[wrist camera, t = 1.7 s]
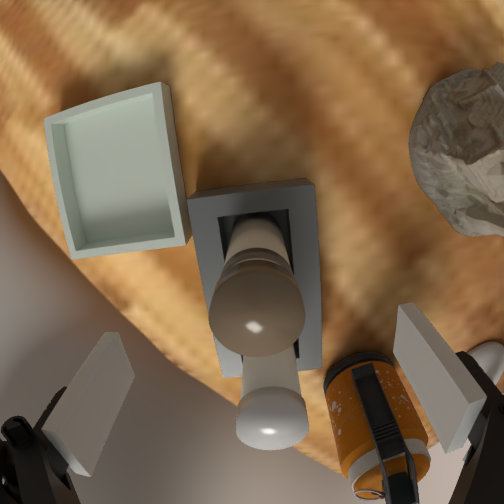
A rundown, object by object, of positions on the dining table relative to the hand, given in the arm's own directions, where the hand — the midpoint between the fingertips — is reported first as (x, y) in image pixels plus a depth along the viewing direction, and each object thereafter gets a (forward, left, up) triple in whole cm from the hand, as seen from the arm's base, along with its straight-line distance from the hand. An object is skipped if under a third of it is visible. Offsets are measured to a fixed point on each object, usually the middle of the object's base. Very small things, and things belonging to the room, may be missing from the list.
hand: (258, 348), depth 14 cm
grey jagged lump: (-7, +23, -17) cm, 30 cm away
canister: (+18, +10, -17) cm, 27 cm away
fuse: (+9, 0, -16) cm, 18 cm away
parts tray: (-8, -12, -17) cm, 22 cm away
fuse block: (+4, 0, -17) cm, 17 cm away
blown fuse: (0, 0, -16) cm, 16 cm away
